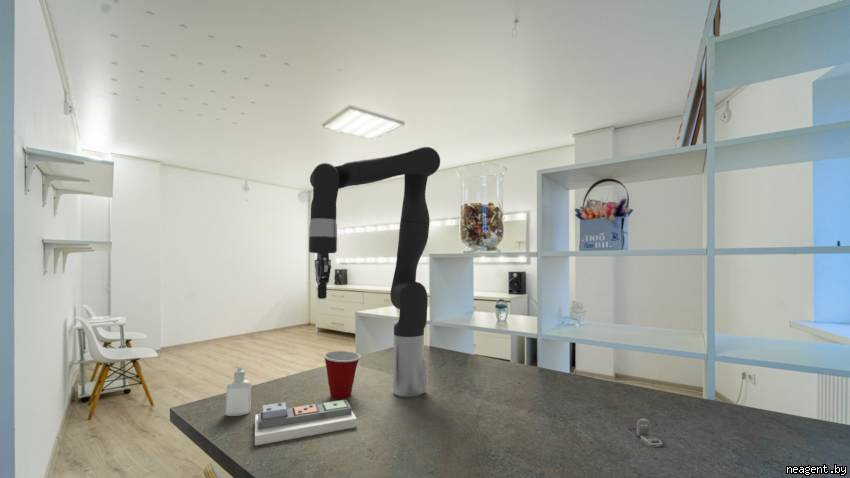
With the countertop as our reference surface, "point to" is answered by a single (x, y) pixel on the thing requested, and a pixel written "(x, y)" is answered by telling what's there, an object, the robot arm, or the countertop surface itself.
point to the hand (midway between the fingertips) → (321, 298)
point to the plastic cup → (341, 372)
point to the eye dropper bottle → (238, 395)
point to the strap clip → (645, 434)
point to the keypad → (302, 424)
